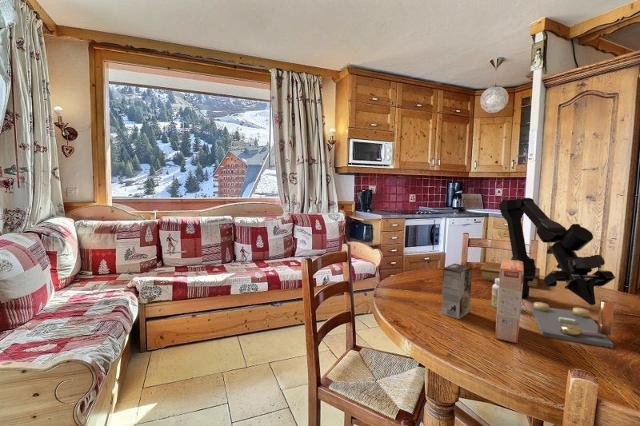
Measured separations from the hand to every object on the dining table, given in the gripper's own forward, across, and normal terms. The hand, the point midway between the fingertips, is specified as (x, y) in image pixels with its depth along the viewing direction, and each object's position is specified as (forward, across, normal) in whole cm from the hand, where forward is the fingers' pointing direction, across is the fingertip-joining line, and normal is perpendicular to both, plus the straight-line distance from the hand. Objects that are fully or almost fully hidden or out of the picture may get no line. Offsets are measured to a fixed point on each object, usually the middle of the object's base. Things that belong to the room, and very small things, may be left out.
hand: (593, 304), depth 97 cm
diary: (-32, +11, +47) cm, 58 cm away
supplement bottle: (-10, -14, +23) cm, 29 cm away
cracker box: (+6, -24, +8) cm, 26 cm away
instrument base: (+2, -2, +11) cm, 11 cm away
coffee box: (-5, -33, +18) cm, 38 cm away
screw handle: (+7, -4, +3) cm, 9 cm away
